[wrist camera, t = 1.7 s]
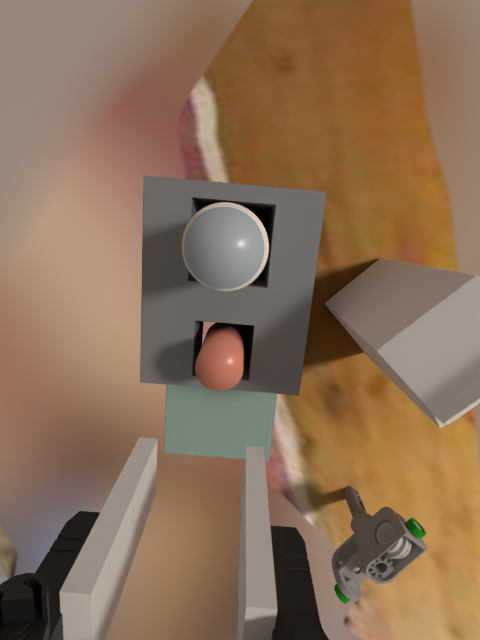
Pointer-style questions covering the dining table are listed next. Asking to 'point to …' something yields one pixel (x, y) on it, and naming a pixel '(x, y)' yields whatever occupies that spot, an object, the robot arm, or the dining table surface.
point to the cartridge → (225, 246)
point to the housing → (228, 306)
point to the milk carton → (418, 332)
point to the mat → (218, 421)
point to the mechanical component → (374, 548)
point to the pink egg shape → (221, 357)
